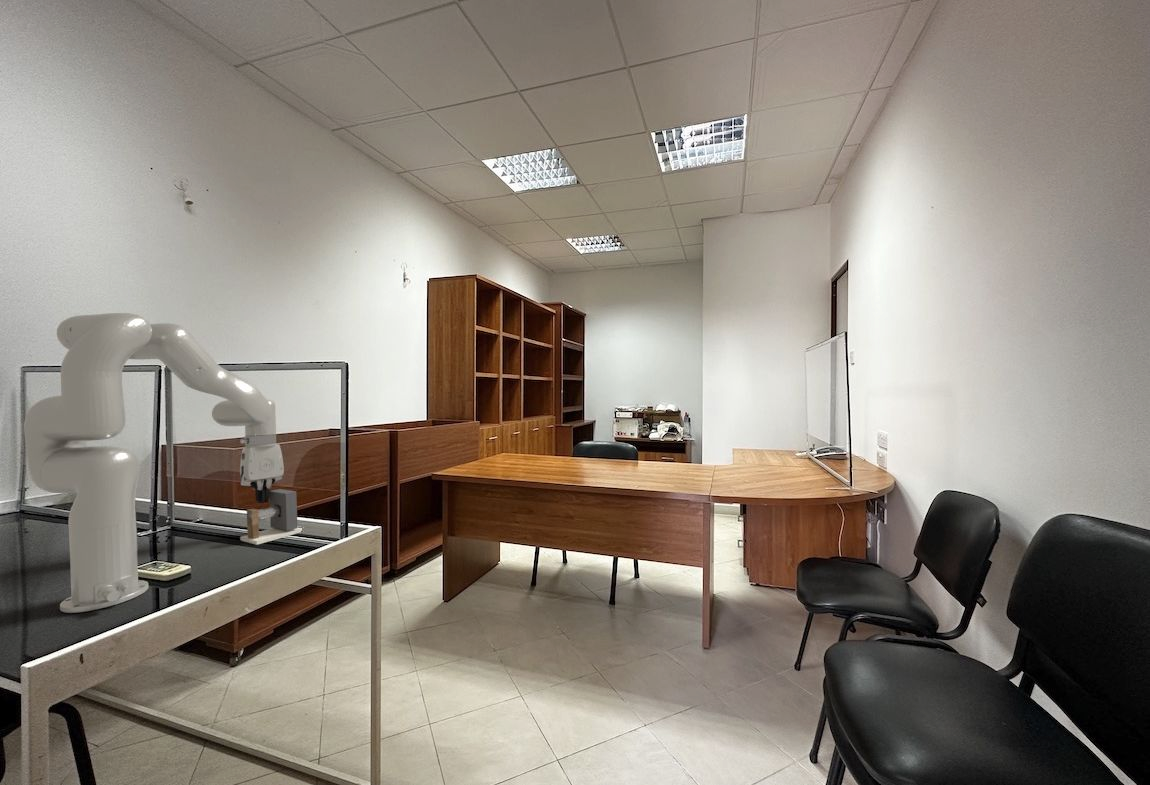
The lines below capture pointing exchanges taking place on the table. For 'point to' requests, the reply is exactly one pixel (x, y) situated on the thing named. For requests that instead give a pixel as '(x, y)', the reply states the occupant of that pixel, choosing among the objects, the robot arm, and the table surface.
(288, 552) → the table surface
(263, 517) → the pipe stand
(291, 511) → the upright gray rectangular block
